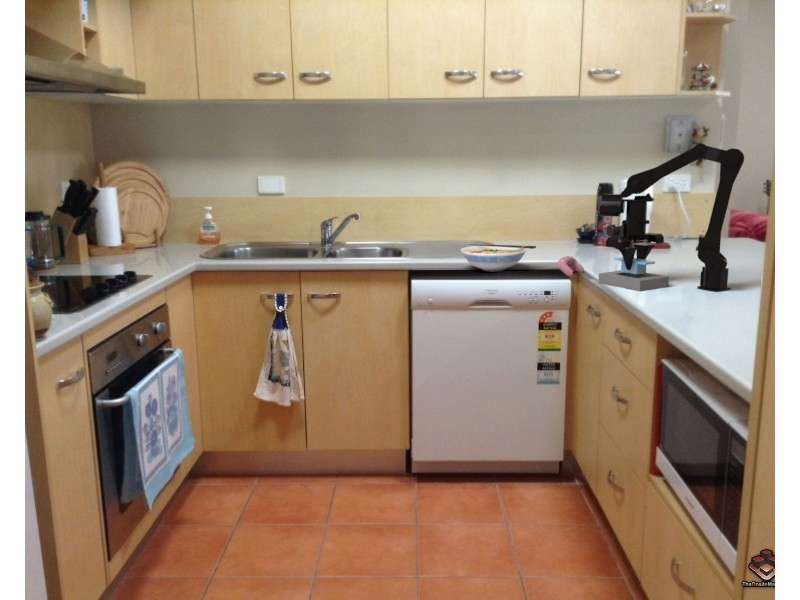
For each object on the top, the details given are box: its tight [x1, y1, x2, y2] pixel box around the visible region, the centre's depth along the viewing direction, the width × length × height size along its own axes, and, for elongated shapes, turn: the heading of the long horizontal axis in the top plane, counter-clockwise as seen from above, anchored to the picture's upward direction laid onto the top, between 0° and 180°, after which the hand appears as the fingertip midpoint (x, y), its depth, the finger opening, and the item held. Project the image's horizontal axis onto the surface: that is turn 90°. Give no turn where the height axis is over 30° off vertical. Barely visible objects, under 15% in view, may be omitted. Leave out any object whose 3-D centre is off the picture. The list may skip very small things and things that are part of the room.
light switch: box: [598, 269, 670, 292], centre depth 200 cm, size 16×12×3 cm
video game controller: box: [557, 255, 585, 277], centre depth 222 cm, size 10×5×7 cm, turn 141°
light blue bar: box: [613, 256, 656, 274], centre depth 199 cm, size 4×12×4 cm, turn 29°
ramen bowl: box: [460, 243, 537, 273], centre depth 232 cm, size 25×23×8 cm
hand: (633, 268), depth 199 cm, fingers closed on light blue bar, 4 cm apart
